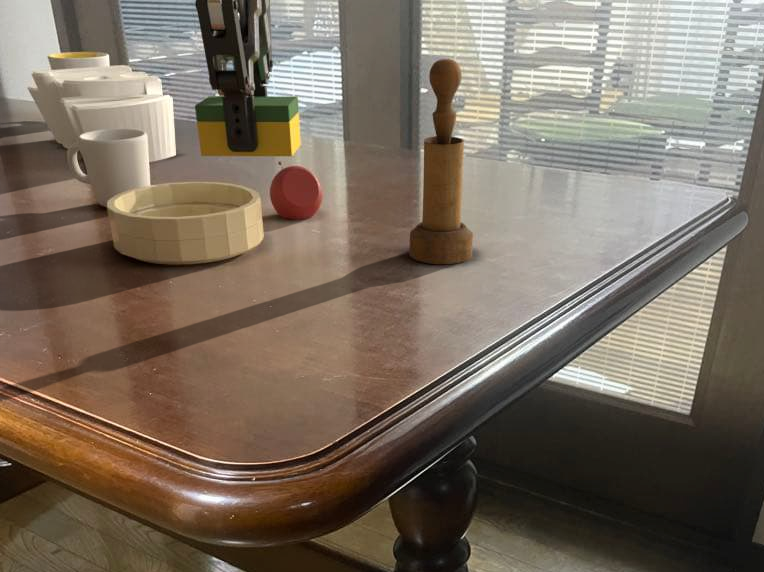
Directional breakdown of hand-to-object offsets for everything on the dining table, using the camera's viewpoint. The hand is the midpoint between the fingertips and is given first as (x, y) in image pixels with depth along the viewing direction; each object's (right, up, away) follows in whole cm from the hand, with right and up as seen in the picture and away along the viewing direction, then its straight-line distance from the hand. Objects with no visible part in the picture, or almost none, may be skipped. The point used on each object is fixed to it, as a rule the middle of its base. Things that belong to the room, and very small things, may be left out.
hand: (250, 143), depth 68 cm
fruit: (-1, +8, +37) cm, 38 cm away
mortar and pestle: (+16, -1, +23) cm, 28 cm away
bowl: (-11, +1, +26) cm, 29 cm away
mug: (-46, +46, +91) cm, 112 cm away
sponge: (0, 0, 0) cm, 1 cm away
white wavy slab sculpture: (-34, +30, +68) cm, 82 cm away
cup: (-24, +11, +41) cm, 49 cm away
